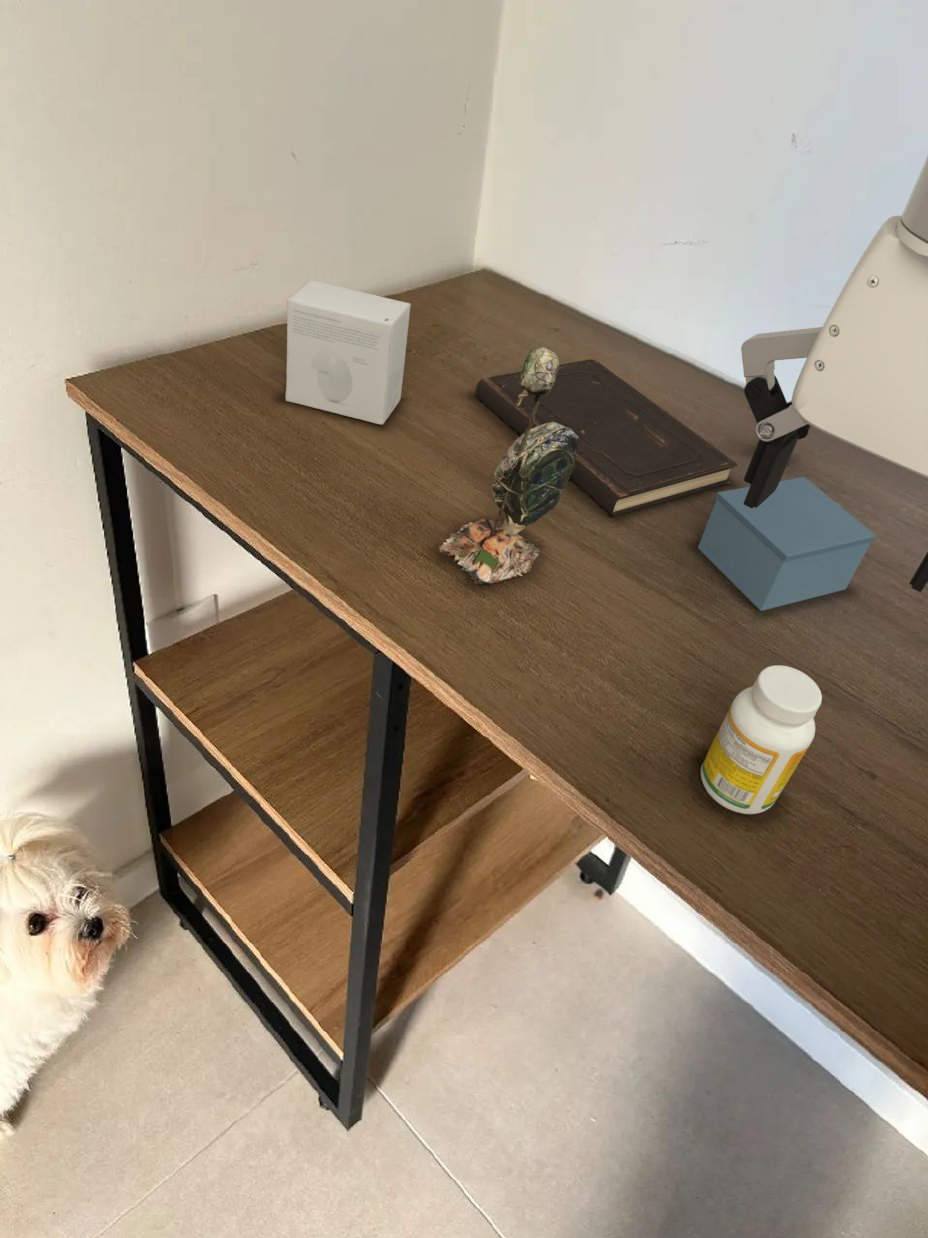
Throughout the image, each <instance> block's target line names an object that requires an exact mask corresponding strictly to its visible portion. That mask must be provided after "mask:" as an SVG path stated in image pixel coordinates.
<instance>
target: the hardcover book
mask: <svg viewBox="0 0 928 1238" xmlns="http://www.w3.org/2000/svg"><path fill="white" fill-rule="evenodd" d="M520 376H521V371H517V372H510V373H506V374H505V373H504V374H500V375H495V376H494V375H493V376H489V377H484V378H481V379H480V380H479V381H478V382H477V384H476V388H475V396H476V397H477V398H478V399H479V400H480V401H481V402H482V403H483V404H484V405H486V406H487V407H488V408H489V409H490V410H492V412H494V414H496V415H497V416H498V417H499V418H500V419H502V420H503V421H504V422H505V423H506V424H507V425H508V426H510V427H511V428H512V429H513V430H514V431H515V432H516V433H518V434H519V435H520V436H521V435H522V434H523V433H525V430H526V428H527V425H528V421H529V418H530V415H531V410H532V406H533V404H534V397H535V395H529V396H526V397H524V398H523V399H522V402H521V403H520V405H518V406H516V402H517V400H518V395H520V394H521V393H522V387H521V385H520V384H519V382H518V381H519V380H520ZM551 422H555V423H558V424H561V425H563V426H565V427H569V428H571V429H572V430H573V432H574V433H575V434H576V435H577V436H578V437H579V438H578V440H579V444H578V448H577V450H576V453H577V454H576V457H575V459H574V460H575V461H574V469H573V471H572V473H571V474H570V476H569V479H570V480H571V481H572V482H574V483H575V484H576V485H577V486H578V487H579V488H580V489H582V490H583V491H584V492H585V493H586V494H587V495H589V496H590V497H591V498H592V499H593V500H594V501H596V502H597V504H599V505H600V506H601V507H602V508H603V509H604V510H605V511H607V512H608V513H609V514H610V515H611V516H612V517H618V516H621V515H624V514H628V513H631V512H635V511H638V510H642V509H646V508H648V507H652V506H656V505H659V504H663V503H666V502H669V501H672V500H677V499H680V498H683V497H686V496H690V495H693V494H697V493H700V492H704V491H707V490H712V489H714V488H717V487H721V486H724V485H728V484H731V483H732V480H731V479H729V478H728V477H729V475H730V472H731V470H732V469H735V468H737V467H738V463H737V462H736V461H734V460H732V459H731V458H729V457H728V456H727V455H726V454H724V452H722V451H721V450H719V449H718V448H716V447H715V446H714V445H712V444H711V443H710V442H708V441H707V440H706V439H704V438H703V437H701V436H700V435H698V434H697V433H696V432H695V431H693V430H692V429H690V427H687V426H686V425H685V424H683V423H682V422H681V421H679V419H677V418H675V417H674V416H673V415H671V414H670V413H669V412H667V411H666V410H665V409H663V408H661V407H660V406H659V405H658V404H656V403H655V402H654V401H653V400H651V399H649V398H648V397H647V396H646V395H644V394H643V393H642V392H640V391H639V390H637V389H636V388H634V387H633V386H632V385H630V384H629V383H628V382H626V381H625V380H624V379H622V378H621V377H619V375H617V374H615V373H614V372H613V371H611V370H610V369H609V368H607V367H606V366H604V365H603V364H602V363H600V362H599V361H598V360H597V359H596V358H590V359H584V360H577V361H573V362H568V363H562V364H559V367H558V371H557V374H556V378H555V383H554V385H553V387H552V388H551V390H550V392H549V393H548V394H547V395H545V396H540V399H539V405H538V407H537V411H536V413H535V418H534V420H533V421H532V426H531V429H532V428H535V427H537V426H541V425H543V424H545V423H551ZM582 430H584V432H585V433H584V434H583V433H581V431H582Z"/></svg>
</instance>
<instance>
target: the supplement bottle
mask: <svg viewBox="0 0 928 1238" xmlns="http://www.w3.org/2000/svg"><path fill="white" fill-rule="evenodd" d="M822 702H823V696H822V692H821V689H820V687H819V686H818V684H817V683H816V682H815V681H814V680H813V679H812V678H811V677H810V676H809V675H807V674H806V673H804V672H803V671H801V670H799V669H797V668H794V667H791V666H787V665H782V664H780V665H779V664H777V665H776V664H774V665H769V666H766V667H765V668H764V669H762V670H761V671H760V673H759V674H758V676H757V677H756V679H755V682H754V683H753V685H752V686H750V687H747V688H744V689H743V690H742V691H740V692H739V693H738V694H737V695H736V696H735V698H734V699H733V701H732V703H731V705H730V707H729V709H728V711H727V713H726V715H725V717H724V719H723V721H722V723H721V725H720V727H719V729H718V730H717V733H716V735H715V737H714V739H713V741H712V743H711V744H710V745H711V746H709V749H708V752H707V753H706V755H705V758H704V759H703V762H702V764H701V766H700V778H701V782H702V784H703V787H704V788H705V790H706V792H707V794H708V795H709V796H710V797H711V798H712V799H713V800H714V802H716V803H718V804H719V805H720V806H722V807H723V808H725V809H727V810H730V811H732V812H735V813H738V814H743V815H757V814H760V813H763V812H766V811H767V810H769V809H770V808H771V807H773V805H774V804H775V803H776V802H777V800H778V799H779V796H780V795H781V793H782V792H783V790H784V789H785V786H786V785H787V783H788V782H789V780H790V778H791V777H792V775H793V773H794V772H795V770H796V769H797V767H798V765H799V763H800V762H801V760H802V759H803V757H804V756H805V754H806V753H807V750H808V749H809V747H810V746H811V744H812V742H813V740H814V738H815V734H816V722H815V716H816V714H817V712H818V710H819V709H820V706H821V705H822Z"/></svg>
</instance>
